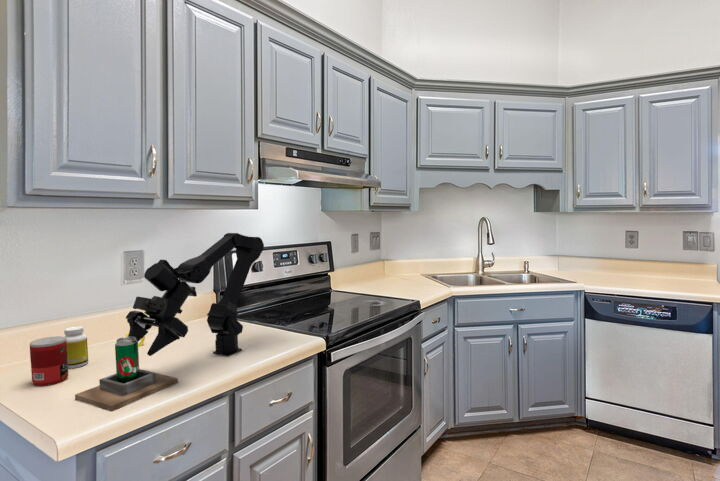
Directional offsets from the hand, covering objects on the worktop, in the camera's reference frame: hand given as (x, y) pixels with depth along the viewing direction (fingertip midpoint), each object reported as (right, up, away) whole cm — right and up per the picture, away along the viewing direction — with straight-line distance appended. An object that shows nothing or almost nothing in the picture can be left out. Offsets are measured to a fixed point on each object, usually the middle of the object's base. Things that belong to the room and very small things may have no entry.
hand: (137, 352), depth 111 cm
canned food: (-26, -9, +5) cm, 28 cm away
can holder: (-1, -9, -2) cm, 9 cm away
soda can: (-1, -8, -2) cm, 8 cm away
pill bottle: (-26, -8, +17) cm, 33 cm away
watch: (-18, -7, +34) cm, 39 cm away
